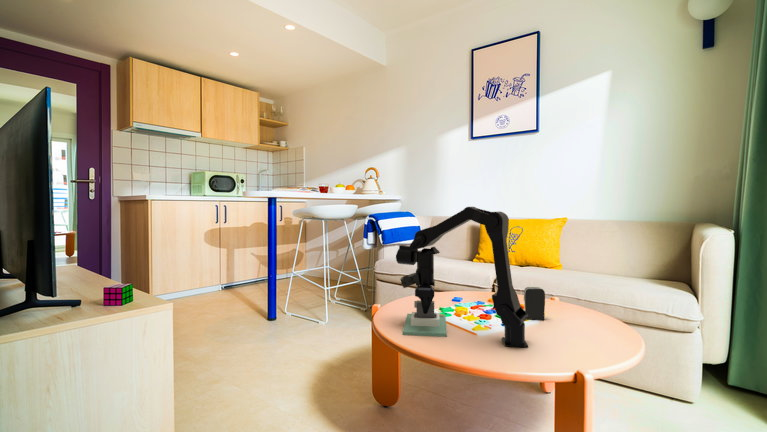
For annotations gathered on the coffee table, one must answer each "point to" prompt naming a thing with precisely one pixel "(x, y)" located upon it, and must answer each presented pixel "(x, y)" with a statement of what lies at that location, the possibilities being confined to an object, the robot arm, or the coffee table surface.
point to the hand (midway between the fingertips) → (425, 311)
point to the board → (425, 325)
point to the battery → (534, 303)
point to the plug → (420, 310)
